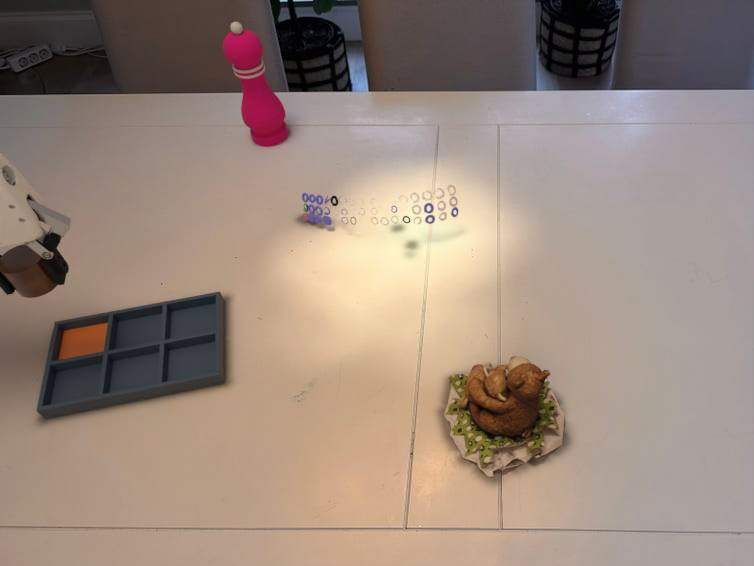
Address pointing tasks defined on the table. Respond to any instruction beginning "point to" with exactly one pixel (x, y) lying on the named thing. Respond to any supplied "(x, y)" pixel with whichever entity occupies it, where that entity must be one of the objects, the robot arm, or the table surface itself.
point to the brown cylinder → (26, 272)
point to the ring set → (328, 221)
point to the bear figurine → (503, 414)
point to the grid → (134, 355)
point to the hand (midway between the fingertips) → (37, 280)
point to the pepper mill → (255, 87)
